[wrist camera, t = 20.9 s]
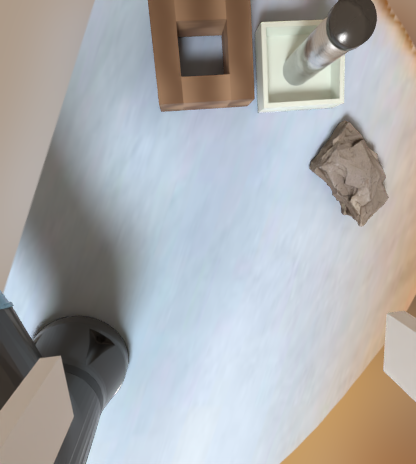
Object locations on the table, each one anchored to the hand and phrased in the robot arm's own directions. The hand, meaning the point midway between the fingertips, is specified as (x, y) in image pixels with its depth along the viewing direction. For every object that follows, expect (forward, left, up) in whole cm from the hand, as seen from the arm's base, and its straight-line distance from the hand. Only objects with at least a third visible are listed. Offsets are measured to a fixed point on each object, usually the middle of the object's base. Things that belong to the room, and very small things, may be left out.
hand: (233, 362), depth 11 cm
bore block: (+3, +22, -32) cm, 39 cm away
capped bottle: (+16, +20, -31) cm, 40 cm away
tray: (+16, +20, -32) cm, 41 cm away
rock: (+24, +5, -32) cm, 40 cm away
